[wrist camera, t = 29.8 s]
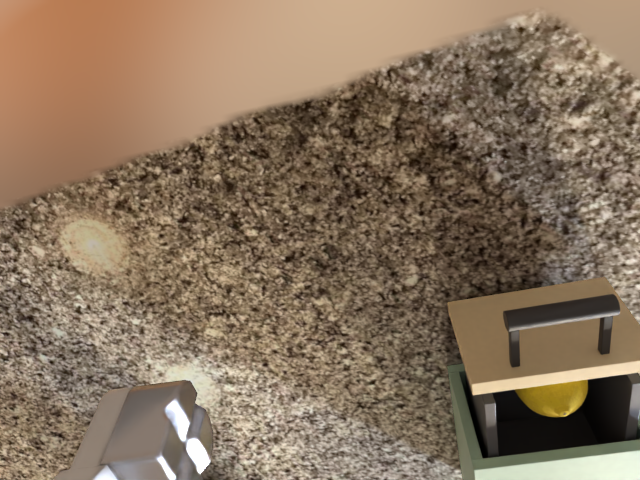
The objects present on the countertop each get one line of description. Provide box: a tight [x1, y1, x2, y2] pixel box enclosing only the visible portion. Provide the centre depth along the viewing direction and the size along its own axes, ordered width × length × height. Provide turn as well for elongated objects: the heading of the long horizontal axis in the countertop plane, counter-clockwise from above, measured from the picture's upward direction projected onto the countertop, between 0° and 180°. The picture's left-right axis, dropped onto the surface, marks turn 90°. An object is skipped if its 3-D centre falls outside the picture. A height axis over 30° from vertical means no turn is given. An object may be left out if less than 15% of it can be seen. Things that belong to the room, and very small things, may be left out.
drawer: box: [448, 277, 640, 459], centre depth 43 cm, size 20×13×9 cm, turn 12°
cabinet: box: [447, 364, 640, 480], centre depth 49 cm, size 17×14×11 cm
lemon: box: [515, 380, 588, 417], centre depth 42 cm, size 6×6×8 cm
